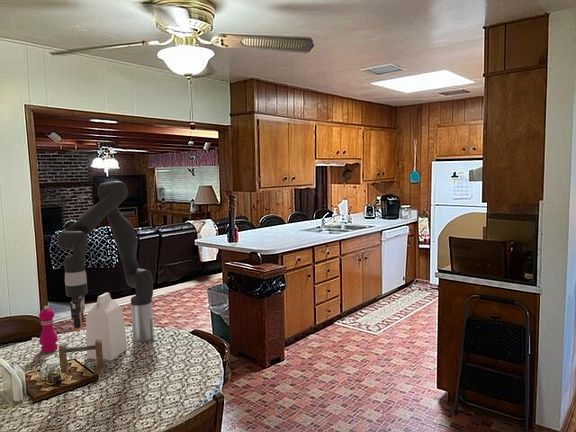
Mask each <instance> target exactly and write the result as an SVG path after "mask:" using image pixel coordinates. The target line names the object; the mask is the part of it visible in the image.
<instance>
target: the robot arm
mask: <svg viewBox="0 0 576 432" xmlns="http://www.w3.org/2000/svg"><path fill="white" fill-rule="evenodd" d="M128 194H129V190H128V187H127V185H126V183H124V182H123V181H120V180H115V181H107V182H102V183H100V184H99V185H98V187H97V197H98V198H99V202H97V203H96V204H95V205H92V206H91V207H89V208H88V209H87V210H86V211H85V212H84V213H83V214H81V216H80V217H79V218H78V219H77V220H76V221H75V222H73V223H72V224H70V225H68V226H67V227H66V228H65V229H63V230H62V231H61V233H59V235H58V238H57V245H58V247H59V248H61V249H63V250H72V254H71V255H68V256H65V258H64V261H63V263H64V264H63V265H64V285H65V287H64V288H65V295H66V297H68V298H69V297H70V298H71V301H70V305H69V307H70V316H71V320H73V328H74V329H76V328H80V327H81V322H80V317H81V316H80V313H81V312H82V324H83V323H84V322H85V319H84V318H85V316H84V314H85V313H84V312H85V309H86V307H85V304H86V303H85V295H88V292H89V291H88V278H87V272H86V262H85V261H86V260H85V259H86V254H87V250H88V246H89V238H88V236H89V235H91V234H92V233H93V231H94V230H95V229H96V228H97V227H98V225H99V224H100V223H101V222H102V221H103V220H104V219H105V218H106V217H107V219H108V222H109V223H108V224H109V226H110V228H111V232H112V236H113V238H114V242H115V244H116V247H117V250H118V253H119V254H118V255H119V256H120V259H121V263H122V269H123V273H124V278H125V281H126V284H127V285H128V286H129V287H130V288H133V289H135V295H134V296H131V298H130V311H131V326H132V340H133V342H136V343H143V342H144V343H145V342H149V341H151V340H152V341H153V340H154V336H155V331H154V329H155V327H154V316H153V304H152V303H153V301H152V299H153V297H154V296H153V295H154V279H153V278H154V277H153V274H152V272H151V271H150V270H148V269H144V268H141V267H140V266H139V263H138V262H139V261H138V260H137V251H138V237H137V233H136V231H135V227H134V226H133V225H132V223H131V222H130V221H129V220H128V219H127V218H126V217H125V216H124V215H123V214H122V212H121V211H120V210H119V207H118V206H119V205H120V204H121V203H123V202H124V201H125V200H126V198H127V197H128ZM78 309H79V310H78ZM75 313H77V315H75ZM81 328H82V327H81ZM81 328H80V329H81Z"/></svg>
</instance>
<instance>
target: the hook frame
mask: <svg viewBox="0 0 576 432" xmlns="http://www.w3.org/2000/svg"><path fill="white" fill-rule="evenodd" d="M94 349H96V359H95V360H96V367H95V370H94V373H93V375H94V374H96V375H98V376H103V375H104V373H105V369H106V366H107V362H106V361H104V359H103V352H102V339H99V340H96V341H95V345H92V346H87V345H86V346H77V347H76V346H75V347H68V348H67V343H65V342H64V343H60V344H59V345H58V355H59V356H58V357H59V358H58V359H59V369H60V368H61V372H62V373H66V372H67V371H68V369H69V368H71V369H72V366H68V355H67V353H75V352H85V351H87V350H94Z"/></svg>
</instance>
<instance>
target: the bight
mask: <svg viewBox="0 0 576 432" xmlns="http://www.w3.org/2000/svg"><path fill="white" fill-rule="evenodd" d="M78 310H79V309H78ZM75 315H77V313H75ZM80 316H81V317H80V322H81V327H80V328H75V332H76V333H77V332H81V328H83V323H82V312H81V313H80Z"/></svg>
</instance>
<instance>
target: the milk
mask: <svg viewBox="0 0 576 432" xmlns="http://www.w3.org/2000/svg"><path fill="white" fill-rule="evenodd" d="M85 320H86V321H85V323H86V324H85V325H86V326H85V327H86V346H92V345H95V341H96V340H99V339H102V352H103V360H106V361H107V360H108V361H112V360H114V359H115V358H116V357H118V356H119V355H120V354H122V353H124V352H126V350H128V349H129V348H128V342H127V340H128V339H127V334H126V327H125V326H126V325H125V318H124V310H123V308H122V307H121V306H120V304H118V303H117V302H116V300H114V299H112V297H111V293H110V292H104V293H103V294H101V295H98V296H97V300H96V303H95V304H94V305H93V307H92V308H91V309H90V310H89V311H88V312H87V314H86V318H85ZM86 359H91V360H92V359H93V360H96V349H94V350H86Z"/></svg>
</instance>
